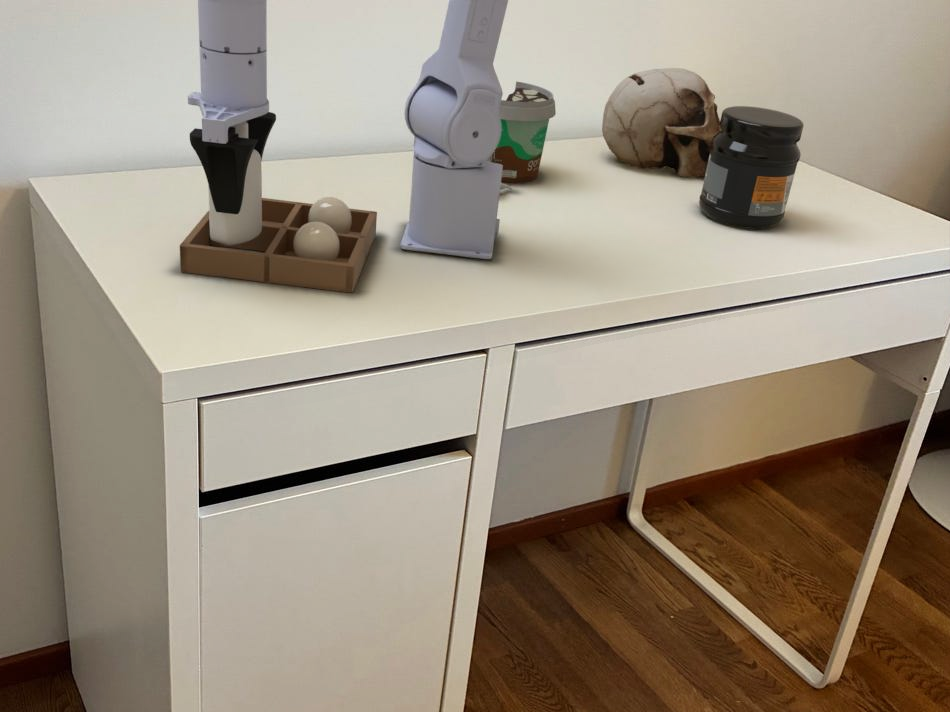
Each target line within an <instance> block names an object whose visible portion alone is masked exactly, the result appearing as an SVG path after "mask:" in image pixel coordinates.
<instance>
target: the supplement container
mask: <svg viewBox="0 0 950 712" xmlns="http://www.w3.org/2000/svg"><path fill="white" fill-rule="evenodd" d="M804 126H805V125H804V122H803V121H802V120H801V119H800V118H799V117H797V116H795V115H792V114H789V113H786V112H783V111H779V110H775V109H770V108H764V107H757V106H747V105H740V106H739V105H736V106H735V105H734V106H729V107H728V106H727V107H726V108H723V110H722V112H721V116H720V125H719V127H720V129H721V131H719V132H718V133H717V134H716V135H715V136H714V137H713V138H712V141H711V151H710V156H709V160H708V165H707V169H706V174H705V177H704V179H703V184H702V188H701V193H700V195H699V199H698V205H699V208H700V210H701V211H702V212H703V214H705V215H706V216H707V217H708V218H710V219H712V220H714V221H716V222H719V223H721V224H724V225H727V226H732V227H736V228H743V229H754V230H755V229H758V230H760V229H768V228H772V227H775V226H777V225H779V224H780V223H782V221H783V219H784V217H785V215H786V208H787V205H788V201H789V197H790V192H791V188H792V185H793V182H794V179H795V173H796V169H797V166H798V163H799V162H800V159H801V149H800V148H799V146H798V143H799V142H800V141H801V137H802V134H803V130H804Z"/></svg>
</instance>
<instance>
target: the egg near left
mask: <svg viewBox="0 0 950 712" xmlns="http://www.w3.org/2000/svg"><path fill="white" fill-rule="evenodd" d="M312 204H313V205H312V207H311V209H310V211H309V215H308V223H309V222H322V223H325V224H327V225H329V226H330V227H331V228H332V229H333V230H334V231H335V232H336V233H343V234H348V232H349V231H350V229H351V225H352V215H351V212H350V210H349V208H350V207H348V205H347V204H346V203H345V202H344V201H343V200H341V199H339V198H338V197H333V196H325V197H321V198H319V199H317V200H316V201H315V202H314V203H312Z"/></svg>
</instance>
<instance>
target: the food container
mask: <svg viewBox="0 0 950 712" xmlns="http://www.w3.org/2000/svg"><path fill="white" fill-rule="evenodd" d="M556 112H557V111H556V101H555V99H554V94H553V93H552V91H550V90H548V89H546V88H544V87H541V86H539V85H536V84H532V83H527V82H522V81H515V88H514V91H513V92H512V93H510V94H508V96H507V97H506V99H505V100H504V99H501V103H500V119H501V128H502V130H501V137H500V141H499V143H498V146H497V147H496V149H495V153H494V163H497V164H501V165H503V169H502V178H501V183H503V184H509V185H514V184H515V185H516V184H517V185H518V184H527V183H532V182H534V181H536V180H537V179H538V177H539V176H538V175H539V171H540V167H541V166H540V165H541V162H542V157H543V152H544V147H545V143H546V137H547V133H548V128H549V124H550V123H549V122H550V119H552V118H554V117H555V116H556V114H557V113H556Z"/></svg>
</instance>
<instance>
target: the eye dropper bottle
mask: <svg viewBox="0 0 950 712" xmlns="http://www.w3.org/2000/svg"><path fill="white" fill-rule="evenodd" d="M234 127H235V134H237V133H238V137H240V138H248V123H247V122H246V121H244V122H242V123H238V124H236V125H235V126H234ZM262 170H263V169H262V161H261V157H260V154H259V153H258V152H257V151H256V150H255V149H254V150H253V152H252V154H251V157H250V160H249V163H248V167H247V172H246V177H245V184H244V193H243V200H242V205H241V209H240V212H239V213H238V214H229V213H220V212H216V210H215V207H214V204H213V201H212V197H211V193H210V189H209V185H207V186H208V187H207V189H208V211H209V222H210V238H211V240H213V241H215V242H218V243H222V244H225V245H235V244H240V243H244V242H247V241H250V240H252V239H254V238H256V237H257V236H258V235H259V234H260V233H261V231H262V198H263V195H262V194H263V186H262V185H263V184H262V183H263V179H262V178H263V176H262Z"/></svg>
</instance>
